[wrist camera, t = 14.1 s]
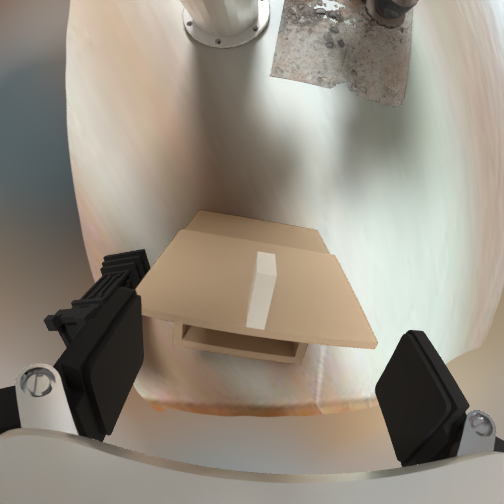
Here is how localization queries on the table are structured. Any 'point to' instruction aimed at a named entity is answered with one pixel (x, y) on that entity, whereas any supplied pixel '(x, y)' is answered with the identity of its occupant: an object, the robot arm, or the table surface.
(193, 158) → the table surface
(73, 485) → the robot arm
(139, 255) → the chess piece
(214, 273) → the lid flap
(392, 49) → the valve
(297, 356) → the carton
